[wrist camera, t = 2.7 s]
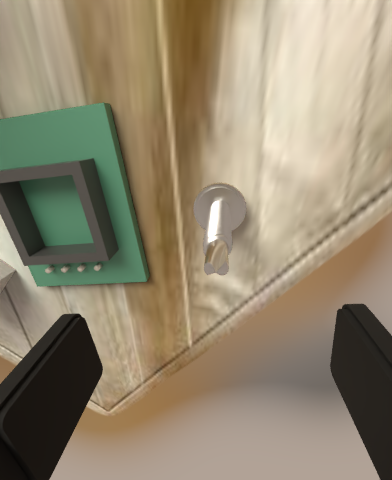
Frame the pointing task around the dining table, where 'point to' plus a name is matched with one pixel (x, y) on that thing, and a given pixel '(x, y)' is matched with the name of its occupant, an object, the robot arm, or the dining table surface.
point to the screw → (219, 223)
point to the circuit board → (69, 198)
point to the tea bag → (5, 274)
